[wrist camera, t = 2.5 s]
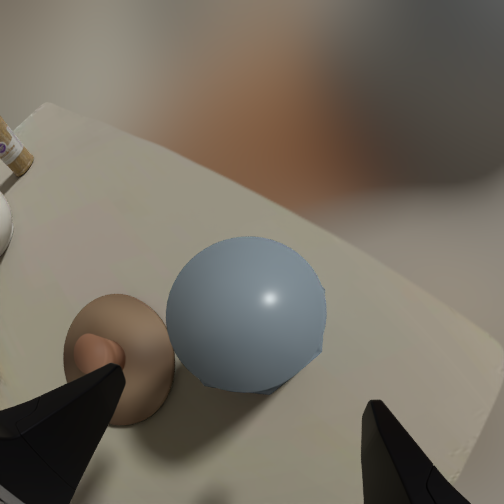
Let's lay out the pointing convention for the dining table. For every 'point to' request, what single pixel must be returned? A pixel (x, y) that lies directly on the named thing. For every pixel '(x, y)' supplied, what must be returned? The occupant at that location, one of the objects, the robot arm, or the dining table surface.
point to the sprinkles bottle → (13, 151)
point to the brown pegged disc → (123, 352)
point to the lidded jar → (5, 224)
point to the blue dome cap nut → (246, 315)
